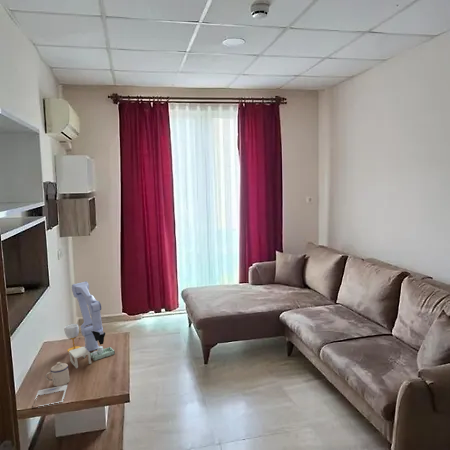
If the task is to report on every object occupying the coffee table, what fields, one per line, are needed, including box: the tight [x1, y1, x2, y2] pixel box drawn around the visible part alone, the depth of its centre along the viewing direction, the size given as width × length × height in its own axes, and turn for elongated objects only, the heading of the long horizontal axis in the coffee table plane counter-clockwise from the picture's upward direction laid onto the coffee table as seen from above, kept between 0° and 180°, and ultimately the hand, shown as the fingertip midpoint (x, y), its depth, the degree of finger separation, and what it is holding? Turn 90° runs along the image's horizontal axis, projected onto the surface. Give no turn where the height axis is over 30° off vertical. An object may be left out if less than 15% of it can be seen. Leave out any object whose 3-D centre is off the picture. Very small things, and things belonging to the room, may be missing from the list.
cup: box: [64, 323, 81, 353], centre depth 273 cm, size 9×9×16 cm
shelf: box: [68, 345, 92, 369], centre depth 252 cm, size 13×9×7 cm
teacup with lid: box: [45, 361, 70, 387], centre depth 228 cm, size 12×9×12 cm
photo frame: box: [34, 384, 68, 407], centre depth 215 cm, size 15×1×18 cm
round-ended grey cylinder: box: [96, 345, 104, 355], centre depth 259 cm, size 3×3×5 cm
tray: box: [90, 346, 116, 361], centre depth 260 cm, size 8×13×4 cm, turn 125°
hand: (99, 342), depth 259 cm, fingers open, 7 cm apart
